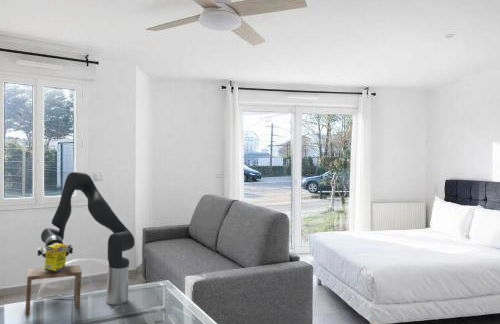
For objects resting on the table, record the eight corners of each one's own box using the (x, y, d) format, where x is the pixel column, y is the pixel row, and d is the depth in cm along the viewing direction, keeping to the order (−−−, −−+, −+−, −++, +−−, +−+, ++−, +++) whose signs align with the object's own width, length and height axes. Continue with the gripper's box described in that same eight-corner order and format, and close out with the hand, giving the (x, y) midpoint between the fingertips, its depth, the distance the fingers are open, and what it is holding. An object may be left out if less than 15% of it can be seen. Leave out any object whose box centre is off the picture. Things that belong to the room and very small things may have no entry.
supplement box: (55, 272, 164) (57, 248, 163) (44, 270, 166) (45, 246, 165) (65, 268, 170) (67, 244, 169) (54, 265, 171) (55, 242, 171)
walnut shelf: (77, 299, 180) (79, 265, 179) (79, 307, 171) (81, 271, 170) (25, 305, 169) (27, 269, 168) (25, 314, 160) (27, 276, 160)
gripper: (37, 237, 178) (38, 247, 164) (71, 236, 185) (74, 245, 171) (36, 253, 178) (37, 264, 164) (70, 251, 185) (73, 261, 171)
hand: (56, 254), depth 167 cm, fingers closed on supplement box, 8 cm apart
